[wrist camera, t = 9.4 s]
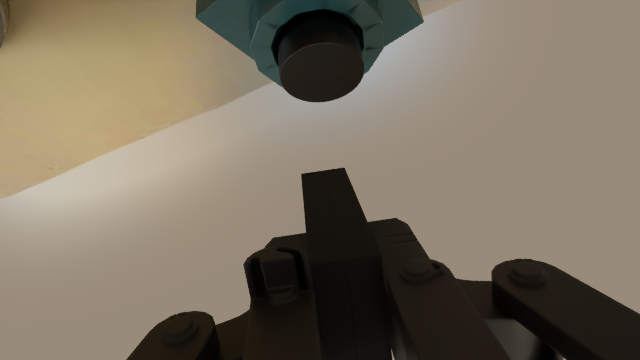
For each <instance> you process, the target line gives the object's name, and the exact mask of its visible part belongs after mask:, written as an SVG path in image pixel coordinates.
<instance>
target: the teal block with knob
mask: <svg viewBox="0 0 640 360" xmlns="http://www.w3.org/2000/svg"><path fill="white" fill-rule="evenodd" d="M313 10H330V11H335V12H338V13H340V14H342V15H344V16H346V17H347V18H348V19H349V20H350V21H351V22H352V23H353V24H354V26H355V27H356V30H357V33H358V38H359V42H360V47H361V52H362V57H363V61H364V74H365V73H366V72H368V71H369V69H370V68H371V66H372V65H373V63H374V62H375V60H376V59H377V57H378V56H379V54H380V52H381V51H382V50H383V48H384V46H386V45H388V44H389V43H391V42H393V41H394V40H396V39H397V38H399V37H401V36H402V35H404V34H406V33H407V32H409V31H410V30H412V29H414V28H415V27H417V26H418V25H420V24H422V23H423V22H424V20H423V17H422V14H421V11H420V8H419V5H418V1H417V0H196V18H197V19H198V20H199V21H201V22H202V23H203V24H205V25H206V26H208V27H209V28H210V29H212V30H213V31H215V32H216V33H217V34H219V35H220V36H221V37H223V38H224V39H226V40H227V41H228V42H230V43H231V44H233V45H234V46H235V47H237V48H238V49H240V50H241V51H242V52H244V53H245V54H247V55H248V56H249V57H251V58H252V59H254V60H255V62H256V65H257V67H258V70H259V71H260V72H261V73H263V74H264V75H266V76H267V77H268V78H270V79H271V80H273V81H274V82H276V83H277V84H278V85H280V86H281V87H283V86H282V84H281V82H280V76H279V64H278V52H277V39H278V35H279V33H280V31H281V29H282V28H283V26H284V25H285V24H286V23H287V22H288V21H290V20H291V19H292V18H294V17H295V16H297V15H299V14H302V13H304V12H308V11H313Z"/></svg>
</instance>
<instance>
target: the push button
mask: <svg viewBox="0 0 640 360" xmlns="http://www.w3.org/2000/svg"><path fill="white" fill-rule="evenodd" d="M277 52H278V64H279V76H280V82H281V84H282V86H283V88H284V89H285V90H286V91H287V92H288V93H289V94H290V95H292V96H293V97H295V98H297V99H300V100H303V101H308V102H326V101H331V100H334V99H338V98H340V97H343V96H345V95H347V94H348V93H349V92H351V91H352V90H354V89H355V88H356V87H357V85H358V84H359V83H360V81H361V79H362V77H363V75H364V61H363V57H362V52H361V47H360V42H359V38H358V33H357V30H356V27H355V26H354V24H353V23H352V22H351V21H350V20H349V19H348V18H347V17H346V16H344V15H342V14H340V13H338V12H335V11H330V10H313V11H308V12H304V13H302V14H299V15H297V16H295V17H294V18H292V19H291V20H290V21H288V22H287V23H286V24H285V25H284V26H283V28H282V29H281V31H280V33H279V35H278V39H277Z"/></svg>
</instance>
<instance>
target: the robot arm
mask: <svg viewBox="0 0 640 360" xmlns="http://www.w3.org/2000/svg"><path fill="white" fill-rule="evenodd" d="M8 23H9V7H8V3H7V0H0V48H1V45H2V43H3V40H4V37H5V34H6V31H7V28H8ZM301 176H302V188H303V200H304V212H305V224H306V233H302V234H295V235H289V236H282V237H275V238H273V239H272V240H271V241H270V242H269V243H268V244H267V245H266V246H265V248H264V249H262V250H259V251H257V252H255V253H253V254H252V255H251V256H250V257H248V258H247V259H246V261H245V263H244V269H245V274H246V279H247V283H248V288H249V293H250V297H251V303H250V309H249V310H248V311H247V312H245V313H243V314H242V315H240V316H238V317H236V318H233V319H231V320H228V321H226V322H223V323H220V324H217V325H215V322H214V320H213V317H212V316H211V315H209V314H207V313H206V312H198V311H191V312H183V313H179V314H177V315H176V314H175V315H173V316H170V317H169V318H167V319H165V320H164V321H162V322H160V323H159V324H157V325H156V326H155V327H154V328H153V329H152V330H151V331H149V333H148V334H147V335H146V336H145V338H144V339H143V340H142V341H141V342H140V344H139V345H138V346H137V347H136V349H135V350H134V351H133V352H132V353H131V355H130V356H129V357H128V358H127V360H392V354H391V349H392V352H393V355H394V358H395V360H563V358H565V359H566V360H640V314H639V313H637V312H635V311H633V310H631V309H630V308H628V307H626V306H624V305H622V304H621V303H619V302H617V301H615V300H614V299H612V298H610V297H608V296H606V295H605V294H603V293H601V292H599V291H597V290H596V289H594V288H592V287H590V286H589V285H587V284H585V283H583V282H581V281H579V280H578V279H576V278H574V277H572V276H570V275H569V274H567V273H565V272H563V271H562V270H560V269H558V268H556V267H554V266H552V265H549V264H547V263H544V262H540V261H535V260H532V259H515V260H510V261H505V262H503V263H500V264H498V265H496V266H495V267H494V269H493V270H492V281H469V280H460V279H456V278H455V277H454V276H453V274H452V273H451V271H450V270H449V268H447V267H446V266H445V265H444V264H443V263H440V262H438V261H435V260H431V259H429V257H428V255H427V254H426V252H425V251H424V249H423V248H422V246H421V244H420V243H419V241H417V238H416V237H415V235H414V234H413V232H412V230H411V229H410V227H409V226H408V224H407V223H405V222H403V221H401V220H398V219H397V218H392V219H385V220H379V221H372V222H367V220H366V218H365V215H364V213H363V211H362V208H361V206H360V203H359V202H358V199H357V196H356V194H355V192H354V189H353V187H352V185H351V182H350V180H349V178H348V175H347V173H346V170H345V168H338V169H332V170H325V171H318V172H311V173H305V174H302V175H301Z"/></svg>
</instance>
